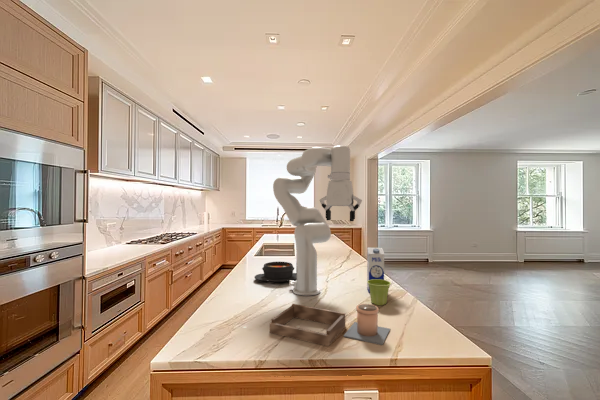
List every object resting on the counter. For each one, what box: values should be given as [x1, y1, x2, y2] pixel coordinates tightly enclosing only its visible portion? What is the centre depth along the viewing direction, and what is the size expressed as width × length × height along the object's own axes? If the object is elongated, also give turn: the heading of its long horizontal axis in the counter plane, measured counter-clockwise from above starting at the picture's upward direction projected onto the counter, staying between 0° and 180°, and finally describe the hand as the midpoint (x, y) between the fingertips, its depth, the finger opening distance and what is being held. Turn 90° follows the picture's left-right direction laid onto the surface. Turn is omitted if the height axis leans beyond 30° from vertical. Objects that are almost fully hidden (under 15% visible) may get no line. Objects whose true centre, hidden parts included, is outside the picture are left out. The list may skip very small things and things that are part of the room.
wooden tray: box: [269, 303, 346, 347], centre depth 103 cm, size 20×16×4 cm
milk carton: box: [366, 247, 385, 294], centre depth 146 cm, size 7×7×20 cm
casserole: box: [254, 261, 296, 284], centre depth 164 cm, size 25×19×8 cm
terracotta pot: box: [355, 303, 380, 336], centre depth 100 cm, size 7×7×8 cm
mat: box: [343, 321, 391, 346], centre depth 100 cm, size 12×12×1 cm
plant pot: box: [366, 279, 392, 306], centre depth 129 cm, size 9×9×9 cm
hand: (340, 220), depth 124 cm, fingers open, 9 cm apart
